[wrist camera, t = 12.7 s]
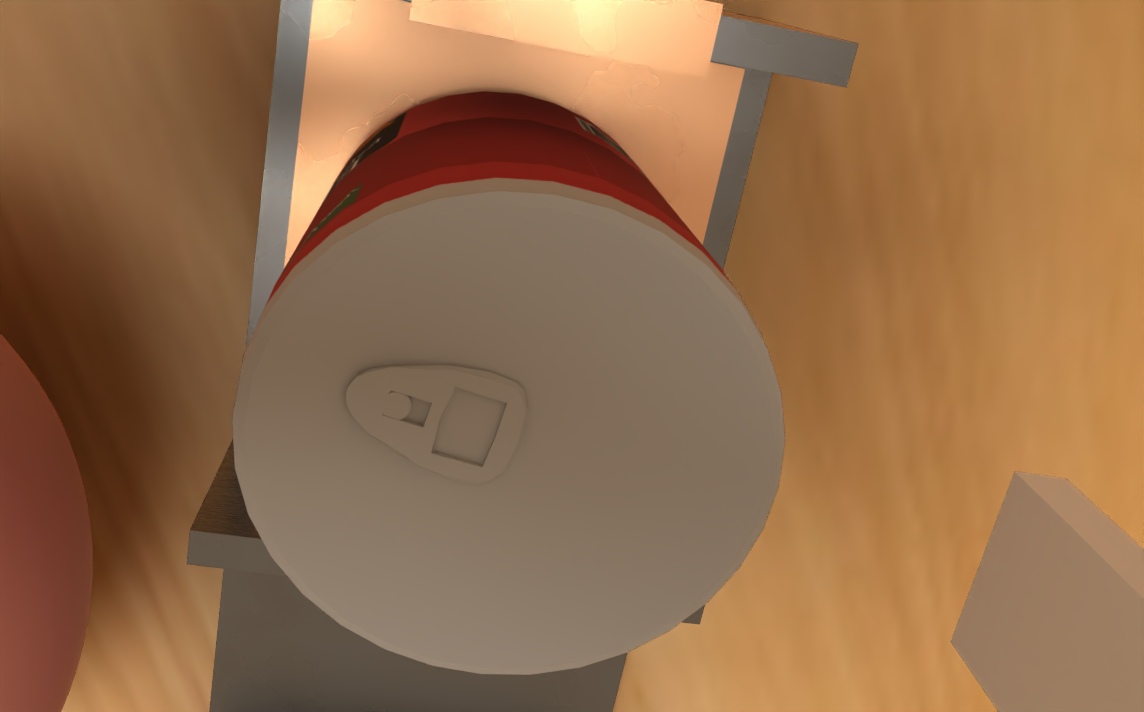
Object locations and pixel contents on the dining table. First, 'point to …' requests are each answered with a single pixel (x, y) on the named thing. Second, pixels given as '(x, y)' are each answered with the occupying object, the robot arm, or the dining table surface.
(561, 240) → the canned food
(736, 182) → the rack
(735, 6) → the dining table surface
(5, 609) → the balloon
